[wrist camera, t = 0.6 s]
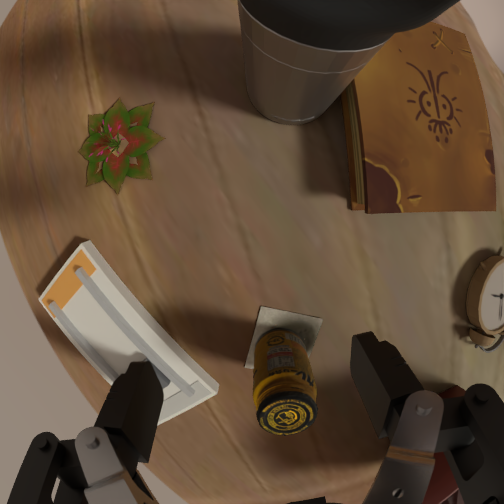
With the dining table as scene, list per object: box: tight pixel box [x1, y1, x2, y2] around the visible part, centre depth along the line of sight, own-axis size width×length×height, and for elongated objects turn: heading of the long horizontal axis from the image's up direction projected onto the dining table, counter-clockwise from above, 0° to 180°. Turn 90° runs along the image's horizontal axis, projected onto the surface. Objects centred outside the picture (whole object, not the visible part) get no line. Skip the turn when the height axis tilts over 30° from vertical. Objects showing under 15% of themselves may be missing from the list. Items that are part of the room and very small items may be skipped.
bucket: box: [422, 385, 466, 504], centre depth 24 cm, size 24×22×25 cm
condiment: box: [245, 306, 323, 436], centre depth 27 cm, size 7×8×12 cm
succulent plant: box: [78, 98, 166, 195], centre depth 27 cm, size 12×12×5 cm
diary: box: [340, 22, 496, 214], centre depth 25 cm, size 23×19×6 cm
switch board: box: [38, 240, 219, 425], centre depth 32 cm, size 24×12×3 cm, turn 39°
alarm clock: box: [466, 255, 504, 353], centre depth 30 cm, size 11×5×15 cm
